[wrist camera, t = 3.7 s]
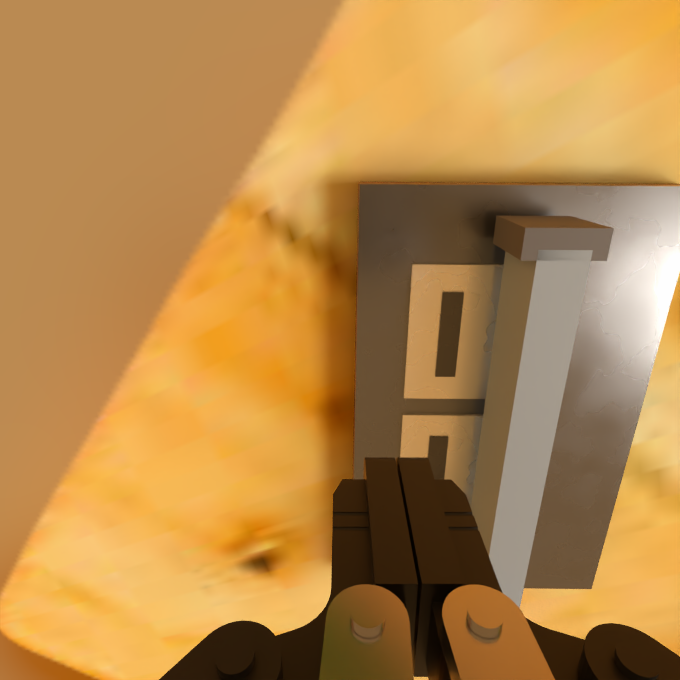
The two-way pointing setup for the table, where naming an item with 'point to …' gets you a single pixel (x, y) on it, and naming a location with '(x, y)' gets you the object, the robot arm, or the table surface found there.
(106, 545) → the table surface
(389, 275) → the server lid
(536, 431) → the swing arm
